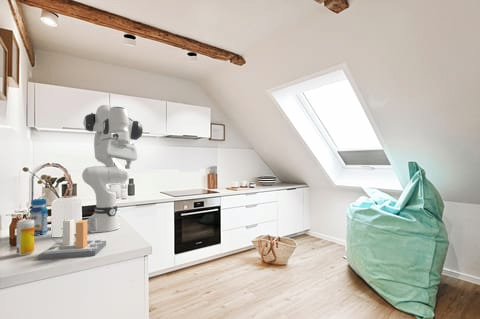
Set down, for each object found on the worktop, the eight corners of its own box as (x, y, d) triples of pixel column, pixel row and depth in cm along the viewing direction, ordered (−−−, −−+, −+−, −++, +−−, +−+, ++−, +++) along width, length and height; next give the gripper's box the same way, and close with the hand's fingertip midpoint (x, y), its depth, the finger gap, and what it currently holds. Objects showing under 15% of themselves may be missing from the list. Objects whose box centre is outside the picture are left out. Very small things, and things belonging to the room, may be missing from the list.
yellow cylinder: (37, 252, 116) (37, 219, 116) (23, 256, 110) (23, 222, 110) (27, 251, 117) (27, 218, 118) (12, 255, 112) (13, 221, 112)
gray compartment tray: (106, 244, 126) (106, 216, 126) (95, 255, 111) (95, 223, 111) (56, 248, 121) (56, 218, 122) (38, 259, 107) (38, 226, 107)
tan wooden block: (87, 246, 116) (87, 220, 117) (83, 249, 112) (83, 222, 112) (80, 246, 116) (80, 220, 116) (75, 250, 111) (75, 222, 112)
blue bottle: (50, 233, 147) (50, 199, 148) (32, 237, 140) (32, 201, 141) (44, 231, 152) (44, 198, 153) (26, 234, 145) (27, 199, 146)
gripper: (129, 144, 131) (130, 170, 129) (96, 135, 112) (97, 166, 109) (139, 142, 129) (140, 169, 127) (108, 132, 110) (108, 164, 108)
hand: (120, 167), depth 118 cm, fingers open, 8 cm apart
